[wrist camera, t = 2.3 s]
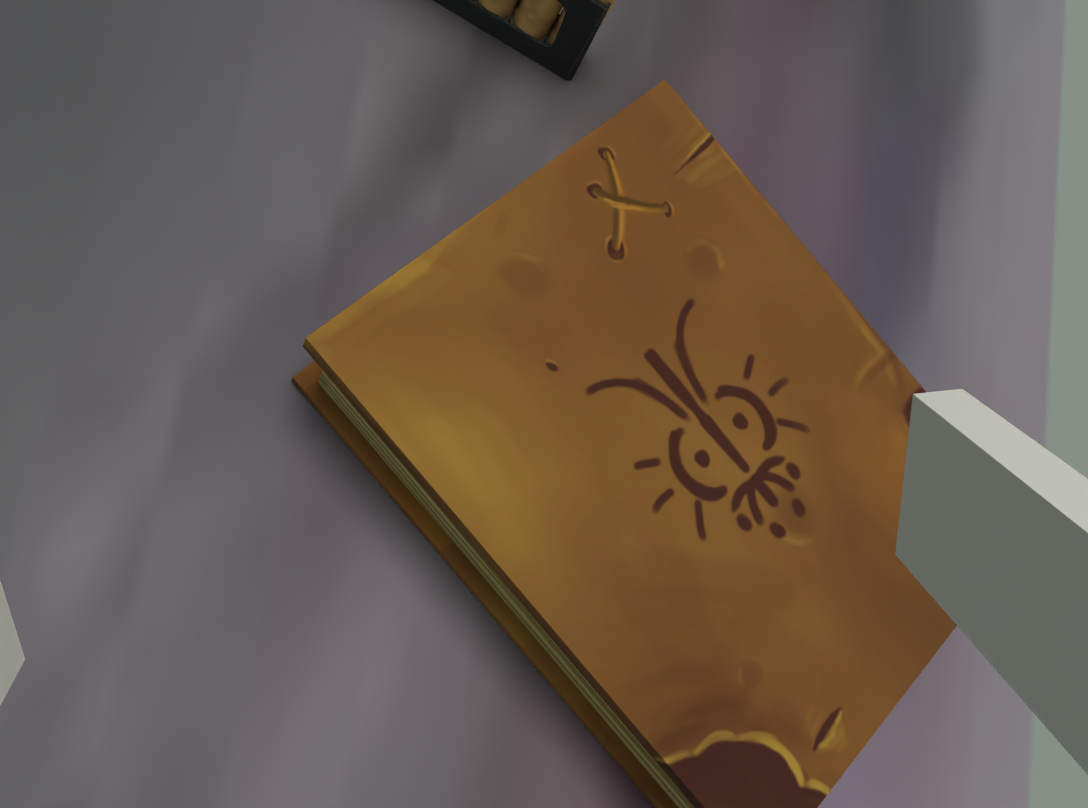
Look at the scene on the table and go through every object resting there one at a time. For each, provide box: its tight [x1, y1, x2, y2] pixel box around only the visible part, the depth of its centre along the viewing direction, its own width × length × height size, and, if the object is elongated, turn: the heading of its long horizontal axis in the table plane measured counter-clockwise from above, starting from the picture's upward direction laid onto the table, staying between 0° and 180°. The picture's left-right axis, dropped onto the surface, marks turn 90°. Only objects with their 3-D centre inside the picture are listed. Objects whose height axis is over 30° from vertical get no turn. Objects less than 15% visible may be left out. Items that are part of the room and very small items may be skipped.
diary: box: [292, 80, 957, 808], centre depth 38 cm, size 23×19×6 cm
